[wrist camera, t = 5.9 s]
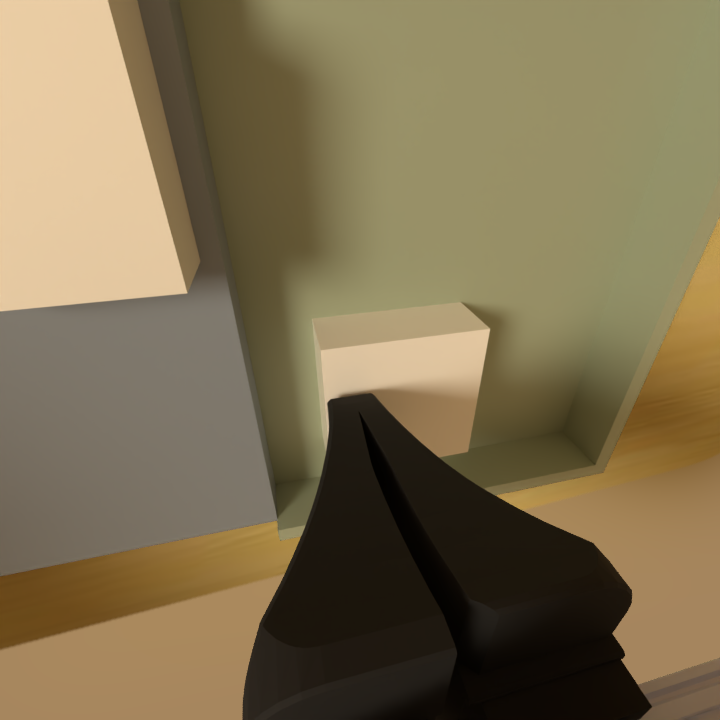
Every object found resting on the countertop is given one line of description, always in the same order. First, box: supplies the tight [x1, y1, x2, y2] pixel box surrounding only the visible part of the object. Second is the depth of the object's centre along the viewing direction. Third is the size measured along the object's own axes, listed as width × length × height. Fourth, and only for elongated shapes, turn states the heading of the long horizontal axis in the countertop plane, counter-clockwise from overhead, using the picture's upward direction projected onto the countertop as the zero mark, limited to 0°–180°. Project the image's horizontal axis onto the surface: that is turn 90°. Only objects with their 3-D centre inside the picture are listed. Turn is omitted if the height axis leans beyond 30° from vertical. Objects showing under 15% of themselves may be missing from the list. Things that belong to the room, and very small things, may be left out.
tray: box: [179, 0, 720, 541], centre depth 12 cm, size 14×18×2 cm
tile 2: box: [312, 302, 490, 457], centre depth 13 cm, size 5×5×2 cm
